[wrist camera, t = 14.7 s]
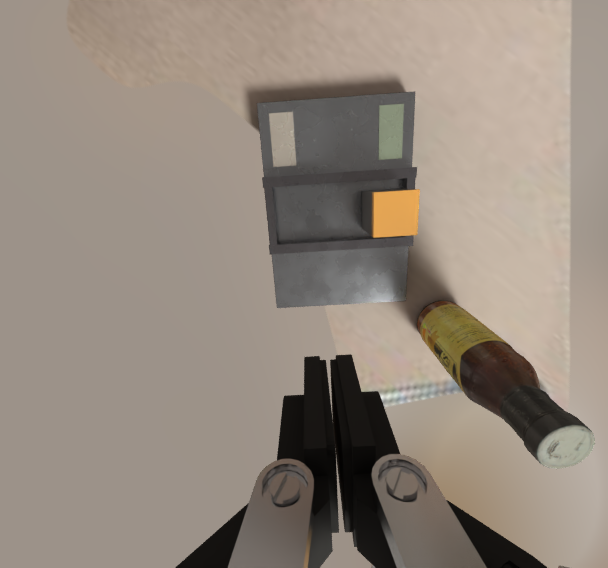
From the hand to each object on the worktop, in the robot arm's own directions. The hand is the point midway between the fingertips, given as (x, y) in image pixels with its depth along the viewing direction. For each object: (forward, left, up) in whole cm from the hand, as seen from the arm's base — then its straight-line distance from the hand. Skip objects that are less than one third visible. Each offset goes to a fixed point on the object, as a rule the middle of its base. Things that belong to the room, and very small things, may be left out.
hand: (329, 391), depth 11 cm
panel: (-4, +3, -27) cm, 28 cm away
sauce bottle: (+11, +16, -27) cm, 34 cm away
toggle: (-4, +8, -25) cm, 26 cm away
